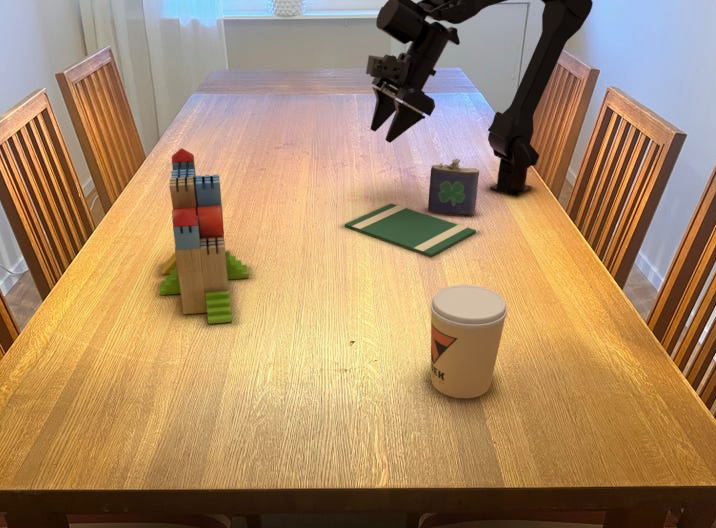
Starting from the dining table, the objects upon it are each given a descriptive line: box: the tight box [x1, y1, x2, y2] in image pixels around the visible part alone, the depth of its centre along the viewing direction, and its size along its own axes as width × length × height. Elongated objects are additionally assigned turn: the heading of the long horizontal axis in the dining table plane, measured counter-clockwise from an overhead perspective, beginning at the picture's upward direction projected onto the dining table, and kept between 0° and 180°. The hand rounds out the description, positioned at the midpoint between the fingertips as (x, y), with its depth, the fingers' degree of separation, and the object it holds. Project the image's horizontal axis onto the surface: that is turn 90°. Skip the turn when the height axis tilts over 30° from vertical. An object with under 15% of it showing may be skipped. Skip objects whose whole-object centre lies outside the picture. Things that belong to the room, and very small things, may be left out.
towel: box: [344, 203, 477, 258], centre depth 139 cm, size 14×20×1 cm
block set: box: [159, 148, 249, 324], centre depth 116 cm, size 28×14×19 cm, turn 9°
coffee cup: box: [429, 284, 508, 399], centre depth 94 cm, size 9×9×12 cm
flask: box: [427, 158, 480, 218], centre depth 143 cm, size 9×3×11 cm, turn 74°
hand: (379, 135), depth 140 cm, fingers open, 9 cm apart
